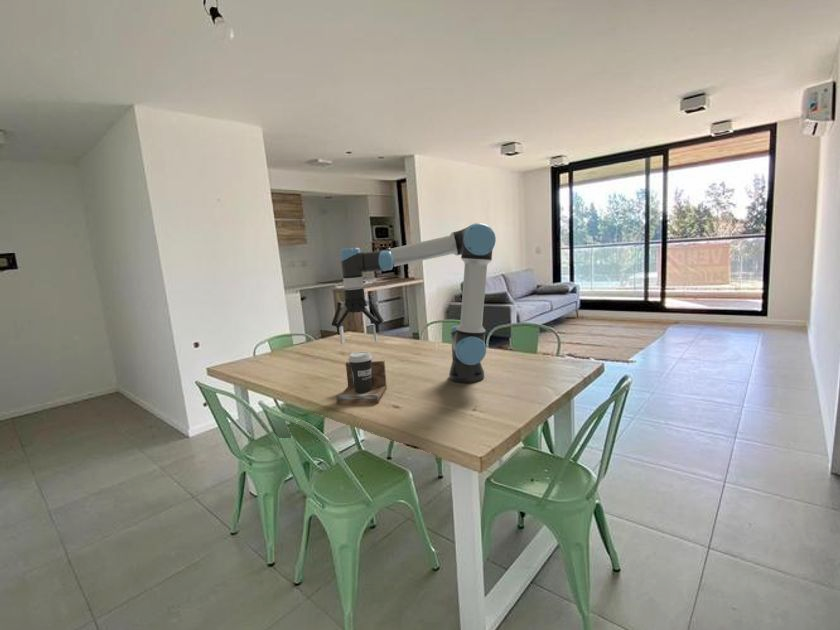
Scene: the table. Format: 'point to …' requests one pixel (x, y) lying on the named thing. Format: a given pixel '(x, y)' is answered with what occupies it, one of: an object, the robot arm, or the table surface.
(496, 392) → the table surface
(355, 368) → the coffee cup
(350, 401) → the shelf
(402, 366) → the table surface
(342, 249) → the robot arm
